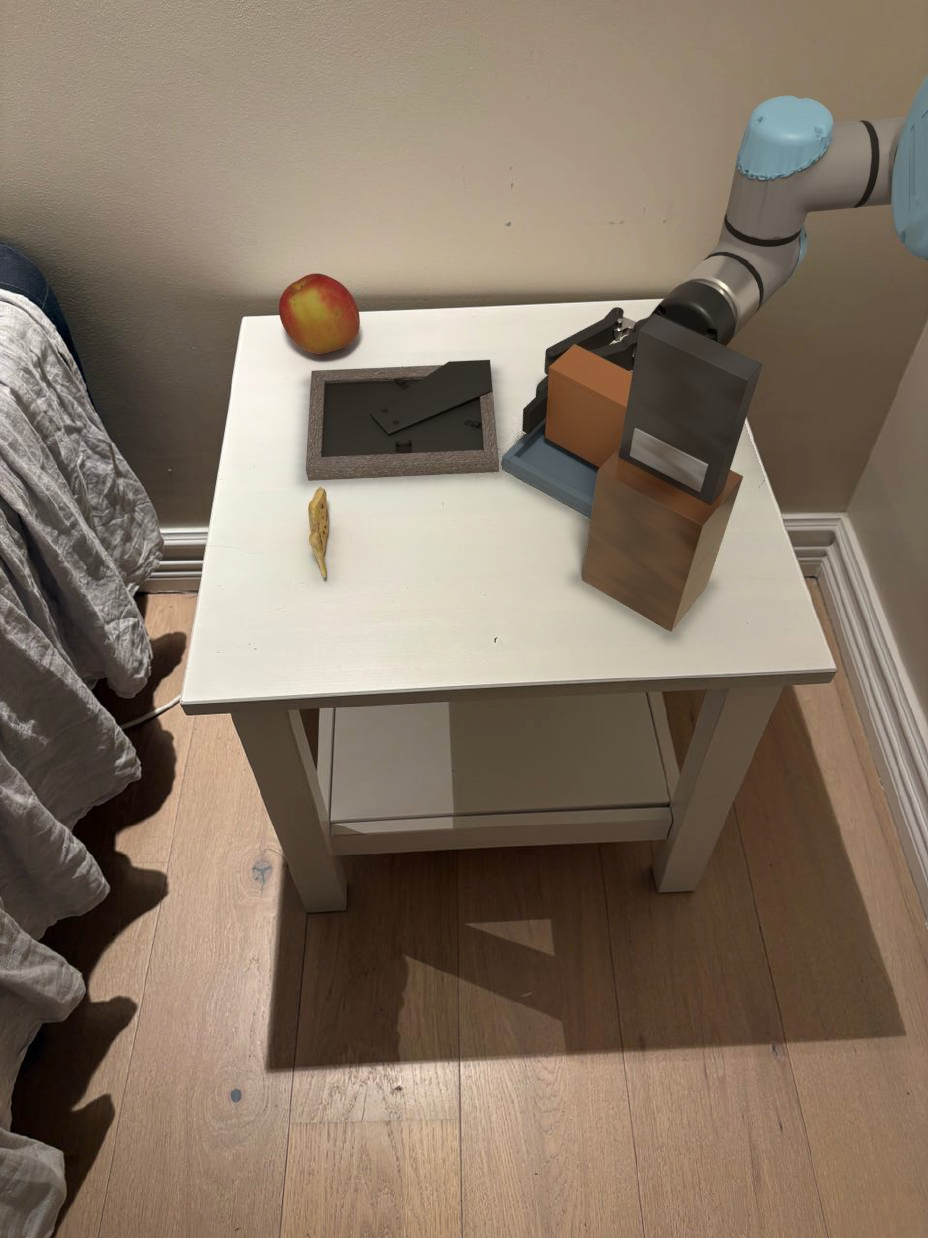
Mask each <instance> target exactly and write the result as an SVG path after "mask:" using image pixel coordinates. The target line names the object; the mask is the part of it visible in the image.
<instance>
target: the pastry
mask: <svg viewBox="0 0 928 1238" xmlns="http://www.w3.org/2000/svg"><path fill="white" fill-rule="evenodd" d="M327 501H328V498H327V491H326V489H325V488H323V487H322V486H320V487H318V488H317V489H316V490H315V492H314V493H313V497H312V499H311V500H310V501H309V503H308V505H307V506H308V507H307V511H308V512H307V513H308V516H307V517H308V524H309V531H310V534H309V536H308V538H309V539H308V542H309V546H311V549H312V552H313V554H314V556H315V558H316V560H317V562H318V565H319V569H320V573H321V575H322V577H323V578H324V579H326V576H327V565H326V562H325V558H324V557H325V556H324V554H325V552H326V547H327V545H326V544H327V543H326V542H327V536H328V534H329V512H328V504H327Z"/></svg>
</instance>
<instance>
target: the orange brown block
mask: <svg viewBox="0 0 928 1238" xmlns="http://www.w3.org/2000/svg"><path fill="white" fill-rule="evenodd" d="M632 373H633V372H631V371H627V370H625V369H623V368H621V367H619V366H617V365H615V364H613V363H611V362H609V361H607V360H605V359H603V358H601V357H599V356H597V355H595V354H593V353H591V352H589V351H587V350H586V349H584V348H582V347H580V346H578V345H576V344H574V345H573V346H572V347H571V348H570V349H568V350H567V351H566V352H565V353H564V354H563V355H562V356H561V357H560V358H558V359H557V360H556V361H555V362H554V363H553V364H552V365H551V366H550V367H549V377H548V394H547V395H548V398H547V413H546V429H545V438H547V439H549V440H551V441H552V442H554V443H556V444H558V445H560V446H561V447H563V448H565V449H567V450H569V451H570V452H572V453H574V454H576V455H578V456H579V457H581V458H583V459H585V460H587V461H588V462H590V463H592V464H594V465H596V466H597V467H599V468H600V467H601V466H602V465H603V464H604V463H605V462H606V461H607V460H608V459H609V458H610V457H611V456H612V454H613V453H614V452H615V451H616V450H617V449H618V448H619V447H620V444H621V438H622V433H623V427H624V421H625V415H626V409H627V403H628V397H629V391H630V385H631V379H632Z"/></svg>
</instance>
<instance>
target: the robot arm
mask: <svg viewBox="0 0 928 1238" xmlns="http://www.w3.org/2000/svg"><path fill="white" fill-rule="evenodd" d="M909 107H910V108H909V110H908V112H907V114H906V115H904V116H903V115H902V116H893V117H885V118H875V119H868V120H866V119H865V120H863V119H862V120H861V119H860V120H855V119H854V120H845V121H844V120H843V121H834V118H833V115H832V113H831V111H830V110H829V108H827V107H826V106H825V105H824V104H822V103H820V102H819V101H818V100H815V99H813V98H809V97H802V98H799V97H796V96H794V95H779V96H775V97H772V98H769V99H767V100H765V101H763V102H761V103H759V105H758V106H756V107H755V109H754V110H753V111H752V112H751V114H750V116H749V118H748V121H747V125H746V127H745V129H744V132H743V135H742V140H741V143H740V145H739V149H738V150H737V155H736V159H735V166H734V167H735V168H734V173H733V178H732V183H731V187H730V193H729V197H728V198H729V199H728V202H727V207H726V210H725V214H724V217H723V221H722V226H721V230H720V233H719V238H718V241H717V244H716V246H715V247H714V249H713V250H712V251H710V253H708V254H707V256H706V257H705V258H704V259H702V261H701V262H700V263H699V264H698V265H697V266H695V268H693V270H691V272H689V273H688V274H687V275H686V276H685V278H683V279H682V280H681V281H680V282H679V283H678V285H677V286H676V287H675V288H673V289H672V290H671V291H670V292H669V293H668V295H666V296H665V297H664V299H662V300H661V301H660V302H659V303H658V304H657V305H656V306H655V308H654V310H653V311H652V312H651V313H650V314H649V316H647V317H644V318H642V319H639V320H637V321H635V320H632V319H630V318H627V317H626V316H624V313H625V311H624V309H623V308H622V307H619V306H615V307H613V308H611V309H610V311H609V312H608V313H607V314H606V315H605V316H604V318H602V319H600V320H598V321H596V322H595V323H593V324H591V325H588V327H585V328H583V329H581V330H579V331H578V332H576V333H573V334H571V335H570V336H568V337H566V338H564V339H562V340H560V341H559V342H556V343H554V344H553V345H550V346H549V347H547V348H546V349H545V352H544V353H545V354H544V368H543V372H544V374H545V375H546V376H545V377H544V378H543V379H542V380H541V381H540V382H539V383H537V385H536V387H535V397H534V398H533V399H532V400H530V402H528V403H527V404H526V406H524V408H523V409H522V424H521V425H522V426H521V431H522V432H523V433H524V434H525V433H527V434H530V433H531V432H532V431H533V430H534V429H535V428H536V427H537V426H538V425H539V424H540V423H541V422H542V421H543V420H544V419H545V418H546V413H547V398H548V395H547V394H548V377H549V367H550V366H551V365H552V364H553V363H554V362H555V361H556V360H557V359H558V358H560V357H561V356H562V355H563V354H564V353H565V352H566V351H567V350H568V349H570V348H571V347H572V346H573V345H574V344H576V345H578V346H580V347H582V348H584V349H586V350H587V351H589V352H591V353H593V354H595V355H597V356H599V357H601V358H603V359H605V360H607V361H609V362H611V363H613V364H615V365H617V366H619V367H621V368H623V369H625V370H627V371H629V372H631V371H633V367H634V361H635V355H636V349H637V343H638V337H639V331H640V329H641V328H642V327H643V326H644V325H645V324H646V323H647V322H648V321H649V320H650V319H651V318H652V317H653V316H654V315H658V316H660V317H662V318H664V319H667V320H669V321H671V322H673V323H675V324H677V325H680V326H682V327H684V328H686V329H688V330H691V331H693V332H695V333H697V334H699V335H702V336H704V337H706V338H708V339H710V340H713V341H715V342H717V343H719V344H721V345H724V346H726V347H727V346H728V345H729V344H730V342H731V341H732V339H734V338H735V337H736V335H738V333H740V332H741V330H742V329H743V328H744V327H745V326H746V325H747V324H748V323H749V322H750V320H751V319H752V318H753V317H754V316H755V315H756V314H757V312H758V311H759V310H760V309H761V308H763V306H764V305H765V304H766V303H767V302H768V301H769V300H770V298H771V297H772V296H773V295H774V294H775V293H777V291H778V290H779V289H780V288H782V287H783V286H784V285H785V284H786V283H788V281H789V279H791V278H792V277H793V276H794V274H795V273H796V270H797V268H798V267H799V266H800V264H801V263H802V262H803V260H804V258H805V256H806V253H807V250H808V245H809V242H808V236H807V230H806V226H805V221H806V218H807V216H808V214H809V213H815V212H816V213H817V212H825V211H836V210H837V211H838V210H846V209H847V210H848V209H857V208H864V207H877V206H880V207H881V206H891V214H892V221H893V227H894V230H895V233H896V235H897V238H898V239H899V242H900V243H902V244H904V248H905V250H906V251H907V252H909V253H910V254H911V255H912V256H915V257H918V258H922V259H924V260H925V261H928V73H927V74H926V76H925V77H924V79H923V81H922V83H921V84H920V86H919V89H918V90H917V92H916V94H915V96H914V98H913V100H912V102H911V105H910V106H909Z"/></svg>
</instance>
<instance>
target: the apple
mask: <svg viewBox="0 0 928 1238" xmlns="http://www.w3.org/2000/svg"><path fill="white" fill-rule="evenodd" d="M278 315H279V319H280V322H281V325H282V326H283V328H284V330H285V332H286V334H287V335H288V337H289V338H290V339H291V340H292V341H293V342H294V344H296V346H297V347H299V348H301V349H302V350H303V351H306V352H308V353H311V354H317V355H325V354H329V353H332V352H334V351H338V350H341V349H344V348H345V347H347V346H349V345H350V344H351V343H353V341H354V340H355V339H356V338H357V336H358V334H359V331H360V326H361V325H360V324H361V319H360V311H359V308H358V305H357V302H356V300H355V299H354V297H353V295H352V294H351V292H350V291H349V290H348V288H347V287H346V286H345V285H344V284H343V283H342V282H340V281H339V280H337V279H335V278H333V277H331V276H329V275H326V274H323V273H310V274H306V275H305V276H303V277H301V278H299V279H297V280H296V281H293V282H292V283H290V284H289V285H288V286H287V287H286V289H284V290H283V292H282V293H281V295H280V299H279V303H278Z"/></svg>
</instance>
